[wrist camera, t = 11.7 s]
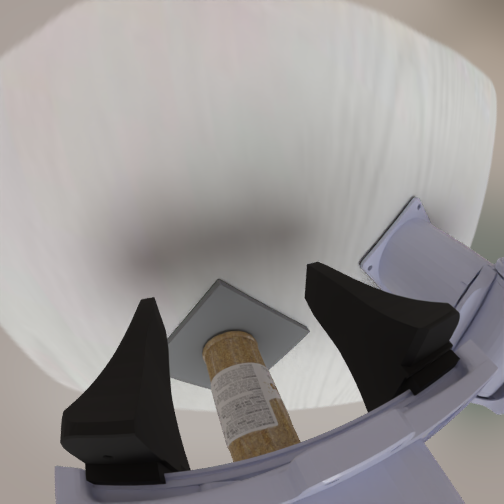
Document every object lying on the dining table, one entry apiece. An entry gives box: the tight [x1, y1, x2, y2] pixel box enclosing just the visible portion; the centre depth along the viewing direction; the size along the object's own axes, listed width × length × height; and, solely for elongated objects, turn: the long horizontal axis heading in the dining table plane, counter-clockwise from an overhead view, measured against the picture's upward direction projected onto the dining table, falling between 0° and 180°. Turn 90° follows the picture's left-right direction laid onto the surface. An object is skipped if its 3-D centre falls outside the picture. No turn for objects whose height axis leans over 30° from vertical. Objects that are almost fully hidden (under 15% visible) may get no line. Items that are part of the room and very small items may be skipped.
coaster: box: [167, 279, 310, 389], centre depth 22 cm, size 10×10×1 cm
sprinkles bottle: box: [202, 331, 300, 462], centre depth 15 cm, size 5×5×14 cm
